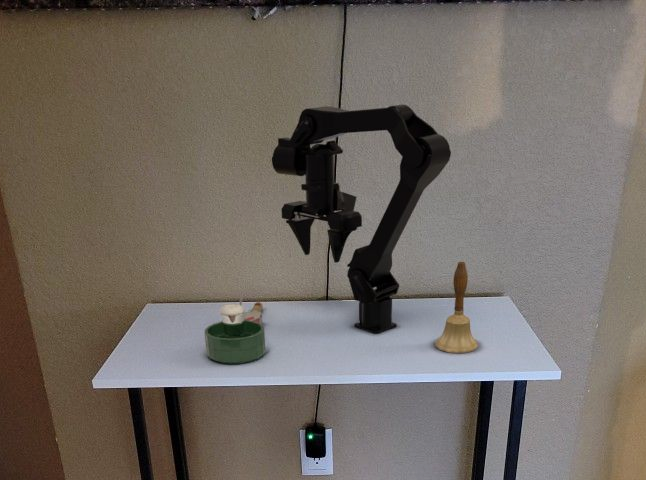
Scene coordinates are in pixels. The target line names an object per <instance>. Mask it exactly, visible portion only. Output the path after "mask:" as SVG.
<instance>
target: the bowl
mask: <svg viewBox="0 0 646 480" xmlns="http://www.w3.org/2000/svg"><path fill="white" fill-rule="evenodd" d="M265 333H266V332H265V326H264V325H262V324H260V323H258V322H255V321H249V320H245V323H244V337H243V338H233V339H227V338H225V334H224V328H223V323H222V321H218V322H214V323H212V324H210V325H208V326H207V327H206V328H205V329H204V341H205V351H206V355H207V357H208V358H210V359H211V360H213V361H215V362H217V363H221V364H226V365H227V364H228V365H238V364H239V365H240V364H247V363H250V362H253V361H256V360H258V359H259V358H260V357H262V356H264V354H265V353H266V352H267V350H266V336H265V335H266V334H265Z"/></svg>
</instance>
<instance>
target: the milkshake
mask: <svg viewBox="0 0 646 480" xmlns="http://www.w3.org/2000/svg"><path fill="white" fill-rule="evenodd" d="M243 298H244V297H243V295H240V299H239V304H235V303H230V304H229V303H228V304H225V305H223V306H221V308H220V310H219V313H220V317H221V322H222V323H223V328H224V334H225V338H227V339H233V338H243V337H244V323H245V312H246V310H245V307H244V306H243Z"/></svg>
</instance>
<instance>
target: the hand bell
mask: <svg viewBox="0 0 646 480" xmlns="http://www.w3.org/2000/svg"><path fill="white" fill-rule="evenodd" d="M468 275H469V274H468V271H467V266H466V262H465V261H459V262H457V265H456V268H455V271H454V274H453V290H454V296H455V297H454V298H455V300H454V309H453V310H454V311H453V312H454V313H453V314H452V315H449V316H448V317H447V318H446V321H445V326H444V329H443V332H442V333H441V335H440V336H439V337H438V338H437V339H436V340H435V342H434V346H435V348H436V349H438V350H440V351H441V352H445V353H450V354H465V353H470V352H473V351H475V350H477V349H478V348H479V345H478V341H477V340H476V339H475V338H474V336H473V334H472V330H471V319H470V317H468V316H466V315H465V314H464V302H465V301H464V298H465V293H466V291H467V287H468V282H469V280H468V278H469V276H468Z"/></svg>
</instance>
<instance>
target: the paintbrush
mask: <svg viewBox="0 0 646 480" xmlns="http://www.w3.org/2000/svg"><path fill="white" fill-rule="evenodd" d="M263 307H264V306H263V303H262V302H261V301H256V302H255V303H254V304H253V307H252V309H251V311H245V320H249V321H255V322H258V323H260V324H262V325H263V324H264V323H263V318H262V317H263V316H262V315H263V312H262V310H263ZM263 326H264V325H263Z"/></svg>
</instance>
